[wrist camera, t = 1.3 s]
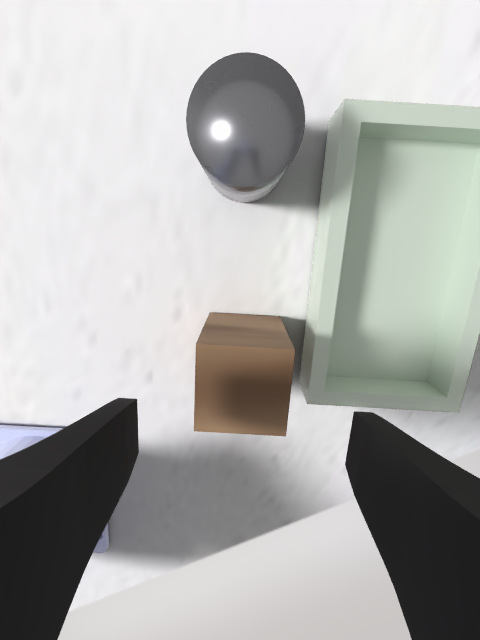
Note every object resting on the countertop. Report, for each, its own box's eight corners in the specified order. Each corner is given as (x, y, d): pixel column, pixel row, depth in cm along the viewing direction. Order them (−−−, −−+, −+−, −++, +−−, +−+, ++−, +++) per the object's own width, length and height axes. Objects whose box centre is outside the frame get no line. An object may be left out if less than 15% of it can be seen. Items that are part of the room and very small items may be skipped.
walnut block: (274, 380, 19) (286, 436, 14) (207, 376, 19) (193, 430, 14) (279, 316, 18) (295, 349, 13) (209, 312, 18) (196, 343, 13)
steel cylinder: (280, 204, 17) (298, 189, 11) (204, 200, 17) (185, 182, 11) (287, 118, 16) (311, 56, 10) (206, 113, 16) (187, 48, 10)
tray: (431, 390, 19) (459, 412, 17) (299, 382, 19) (307, 403, 17) (491, 130, 16) (537, 110, 13) (328, 120, 15) (344, 98, 13)
